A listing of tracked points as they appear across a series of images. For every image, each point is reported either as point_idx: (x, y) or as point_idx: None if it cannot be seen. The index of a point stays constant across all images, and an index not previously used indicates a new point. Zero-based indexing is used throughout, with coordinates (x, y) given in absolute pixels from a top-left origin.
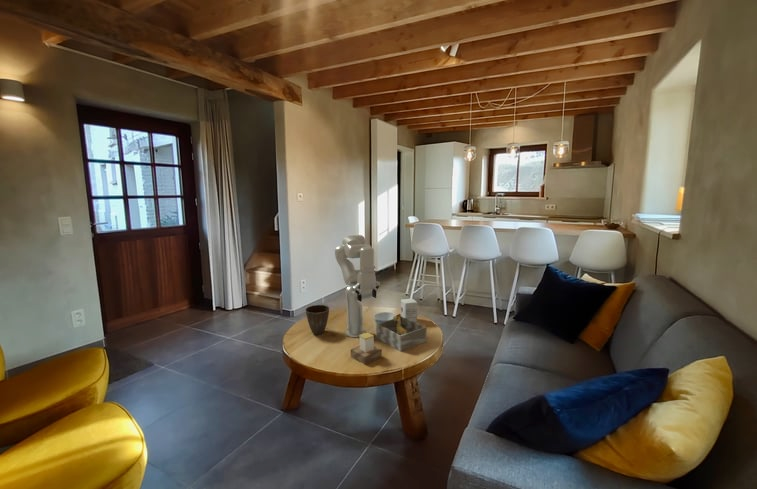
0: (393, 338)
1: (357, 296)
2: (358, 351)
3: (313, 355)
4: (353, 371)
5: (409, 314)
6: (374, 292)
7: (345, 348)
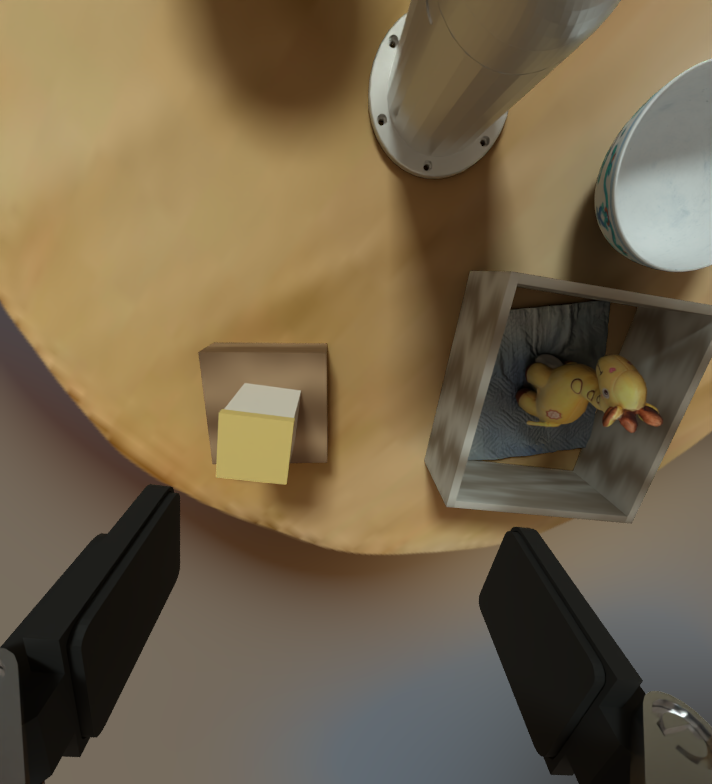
0: (449, 438)
1: (53, 594)
2: (219, 400)
3: (40, 157)
4: (151, 447)
5: None
6: (535, 707)
7: (249, 237)
